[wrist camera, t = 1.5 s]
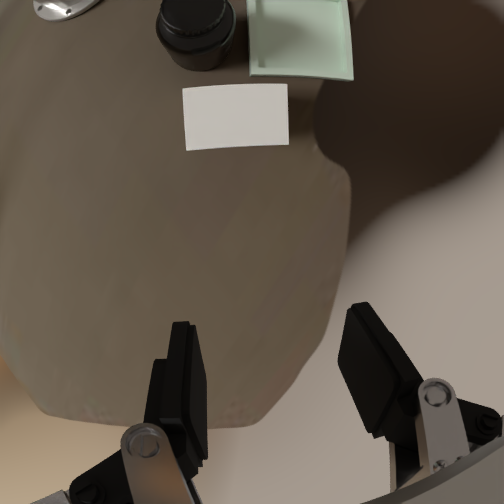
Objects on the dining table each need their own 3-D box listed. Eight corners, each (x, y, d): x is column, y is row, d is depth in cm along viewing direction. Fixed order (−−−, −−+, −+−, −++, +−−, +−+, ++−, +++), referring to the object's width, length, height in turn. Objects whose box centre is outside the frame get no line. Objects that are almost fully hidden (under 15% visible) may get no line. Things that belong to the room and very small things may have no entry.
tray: (245, -10, 23) (247, -15, 21) (341, -1, 24) (346, -4, 22) (249, 76, 28) (251, 74, 26) (348, 81, 29) (353, 80, 27)
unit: (193, 96, 28) (182, 86, 19) (266, 93, 29) (286, 81, 20) (196, 144, 30) (186, 154, 21) (268, 140, 31) (288, 148, 22)
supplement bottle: (241, 58, 27) (253, 26, 16) (182, 81, 27) (163, 60, 16) (218, 11, 24) (219, -38, 13) (161, 33, 24) (133, -6, 13)
